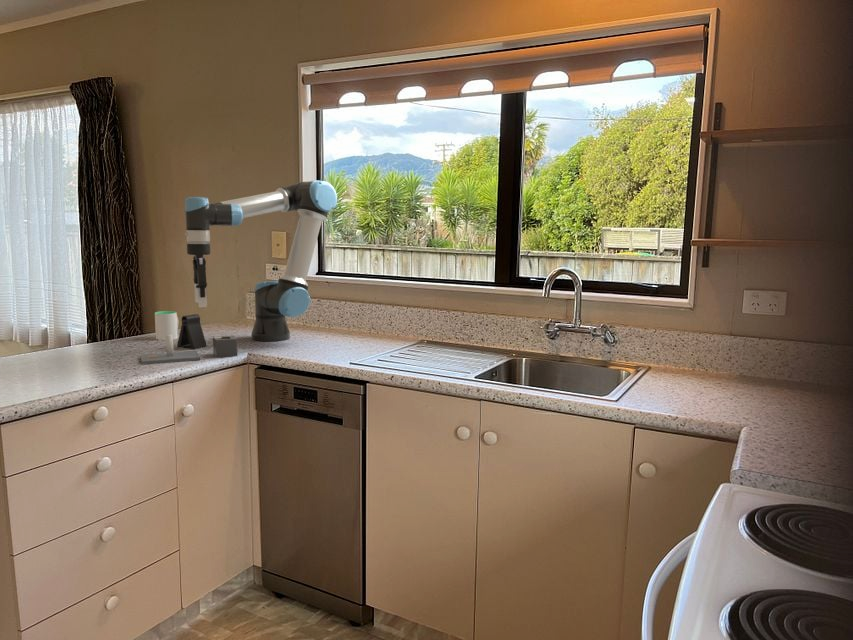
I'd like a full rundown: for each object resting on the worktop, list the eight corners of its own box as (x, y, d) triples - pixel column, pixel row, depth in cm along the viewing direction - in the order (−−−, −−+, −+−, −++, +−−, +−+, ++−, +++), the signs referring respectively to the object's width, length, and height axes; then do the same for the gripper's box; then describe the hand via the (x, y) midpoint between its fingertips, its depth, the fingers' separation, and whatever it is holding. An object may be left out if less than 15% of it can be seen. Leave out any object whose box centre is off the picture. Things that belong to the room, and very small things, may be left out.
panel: (196, 353, 222) (195, 331, 221) (200, 360, 212) (199, 336, 210) (140, 357, 214) (139, 334, 213) (141, 364, 204) (140, 340, 202)
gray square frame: (233, 352, 226) (233, 334, 225) (237, 355, 219) (236, 338, 218) (213, 353, 222) (212, 336, 222) (216, 357, 216) (215, 339, 215)
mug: (166, 334, 259) (165, 309, 257) (185, 335, 258) (184, 310, 256) (151, 339, 247) (150, 313, 245) (171, 340, 246) (170, 314, 245)
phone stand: (207, 347, 234) (205, 315, 233) (194, 349, 229) (193, 317, 227) (189, 344, 238) (188, 313, 237) (176, 347, 233) (175, 315, 231)
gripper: (184, 241, 225) (186, 300, 228) (189, 244, 203) (192, 309, 206) (206, 241, 228) (208, 300, 231) (213, 244, 206) (216, 308, 209)
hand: (200, 304), depth 218 cm, fingers open, 13 cm apart
